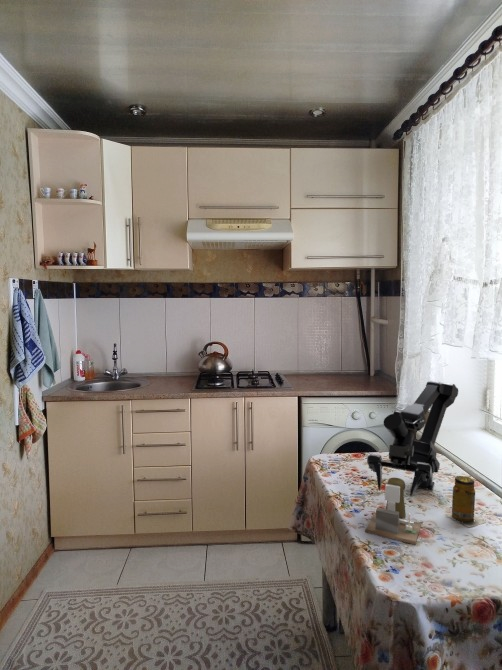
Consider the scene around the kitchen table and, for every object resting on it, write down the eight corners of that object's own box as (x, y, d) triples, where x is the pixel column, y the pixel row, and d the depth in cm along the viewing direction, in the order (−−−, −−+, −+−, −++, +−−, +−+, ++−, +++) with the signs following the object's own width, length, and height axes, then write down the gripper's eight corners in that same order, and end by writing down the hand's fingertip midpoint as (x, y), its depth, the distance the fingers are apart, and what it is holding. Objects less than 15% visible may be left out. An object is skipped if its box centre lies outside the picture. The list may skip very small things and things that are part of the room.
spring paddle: (385, 516, 134) (386, 483, 133) (414, 522, 130) (415, 489, 129) (383, 519, 132) (384, 486, 131) (413, 526, 128) (414, 492, 127)
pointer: (406, 528, 127) (406, 512, 127) (412, 529, 127) (412, 513, 126) (405, 529, 126) (406, 513, 126) (411, 531, 126) (412, 515, 125)
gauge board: (374, 515, 137) (374, 495, 136) (421, 525, 131) (421, 504, 130) (365, 531, 127) (365, 510, 127) (415, 544, 121) (416, 522, 120)
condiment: (461, 510, 140) (463, 472, 139) (485, 522, 133) (487, 483, 131) (444, 515, 137) (446, 477, 136) (468, 528, 129) (470, 488, 128)
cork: (407, 520, 134) (408, 484, 133) (385, 517, 135) (386, 482, 134) (404, 510, 140) (405, 476, 139) (384, 508, 141) (385, 474, 140)
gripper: (369, 429, 143) (359, 475, 134) (432, 438, 134) (426, 488, 126) (374, 445, 151) (365, 490, 142) (434, 455, 142) (428, 503, 133)
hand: (394, 492), depth 136 cm, fingers open, 9 cm apart
